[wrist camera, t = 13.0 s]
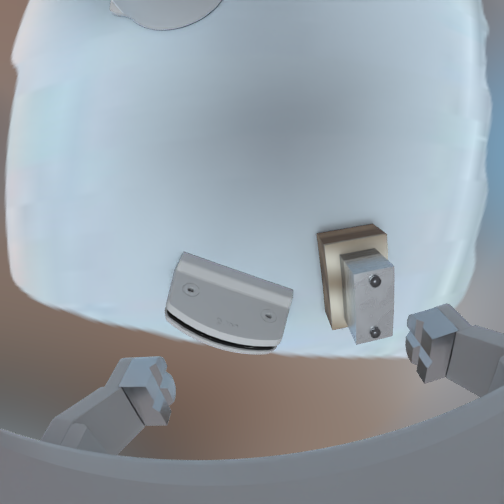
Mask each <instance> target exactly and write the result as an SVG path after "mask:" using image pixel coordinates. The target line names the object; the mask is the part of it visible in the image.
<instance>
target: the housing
mask: <svg viewBox="0 0 504 504" xmlns="http://www.w3.org/2000/svg"><path fill="white" fill-rule="evenodd" d="M339 256H340V267H341V279H342V292H343V308H344V319H345V321H346V323H347V326H348V328H349V330H350V332H351V334H352V336H353V339H354V341H355V343H356V345H357V344H361V343H366V342H370V341H374V340H378V339H382V338H386V337H390V336H392V335H393V315H394V266H393V265H392V264H391V263H390V262H389V261H388V260H387V259H386V258H385V257H384V256H383V255H382V254H381V253H380V252H379V251H377V250H376V249H375V248H372V249H367V250H362V251H356V252H351V253H346V254H340V255H339Z"/></svg>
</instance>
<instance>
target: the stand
mask: <svg viewBox="0 0 504 504" xmlns="http://www.w3.org/2000/svg"><path fill="white" fill-rule="evenodd" d="M317 240H318V248H319V256H320V265H321V274H322V283H323V293H324V303H325V312H326V315H327V317H328V320H329V322H330V325H331V327H332V330H336V329H340V328H345V327H348V326H347V323H346V321H345V319H344V308H343V292H342V279H341V267H340V256H339V255H340V254H346V253H351V252H356V251H362V250H367V249H372V248H375V249H376V250H377V251H379V252H380V253H381V254H382V255H383V256H384V257H385V258H386V259H387V260H388V249H387V234H386V233H385V232H383V231H382V230H381V229H379V228H378V227H376V226H375V225H374V224H369V225H363V226H358V227H352V228H346V229H340V230H334V231H329V232H323V233H317Z"/></svg>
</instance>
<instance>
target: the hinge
mask: <svg viewBox="0 0 504 504" xmlns="http://www.w3.org/2000/svg"><path fill="white" fill-rule="evenodd" d="M292 298H293V290H292V289H289V288H286V287H284V286H281V285H278V284H275V283H272V282H269V281H266V280H263V279H260V278H257V277H254V276H251V275H248V274H246V273H243V272H240V271H237V270H234V269H231V268H228V267H226V266H223V265H220V264H217V263H214V262H211V261H209V260H206V259H203V258H200V257H197V256H194V255H192V254H189V253H186V252H183V254H182V256H181V258H180V261H179V263H178V264H177V266H176V268H175V271H174V275H173V279H172V283H171V286H170V290H169V294H168V298H167V303H166V308H165V316H166V320H167V321H168V322H169V323H170V324H171V325H173V326H174V327H175V328H177V329H178V330H180V331H182V332H183V333H185V334H186V335H188V336H190V337H192V338H194V339H196V340H198V341H200V342H202V343H205V344H207V345H210V346H213V347H215V348H219V349H223V350H227V351H231V352H237V353H243V354H268V353H270V352H272V351H273V350H275V349H276V347H277V345H278V344H279V343H280V342H281V339H282V337H283V333H284V329H285V325H286V321H287V316H288V312H289V308H290V305H291V302H292Z"/></svg>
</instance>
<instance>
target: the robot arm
mask: <svg viewBox="0 0 504 504" xmlns="http://www.w3.org/2000/svg"><path fill="white" fill-rule="evenodd" d="M220 2H221V0H111V3H110V11H111V12H112V13H113V14H114V15H117V16H123V17H128V18H130V19H132V20H133V21H134V22H136V23H137V24H139V25H140V26H143V27H145V28H148V29H154V30H170V29H176V28H180V27H184V26H187V25H189V24H192V23H194V22H196V21H198V20H200V19H202V18H203V17H205V16H206V15H208V14H209V13H210V12H211V11H213V10H214V9H215V8H216V7H217V5H218V4H219V3H220ZM407 327H408V328H409V329H410V332H409V333H408V335H407V336H406V344H405V345H406V352H407V355H408V358H409V360H410V361H411V363H413V364H415V365H417V373H418V374H419V376H420V378H421V379H422V381H423V382H424V383H428V382H432V381H434V380H438V379H441V378H444V377H446V378H448V379H449V380H451V381H453V382H454V383H456V384H458V385H460V386H462V387H463V388H465V389H467V390H469V391H470V392H472V393H474V394H476V395H477V396H479V397H480V398H478V399H476V400H474V401H472V402H469V403H467V404H465V405H463V406H460V407H458V408H456V409H453V410H451V411H449V412H446V413H444V414H441V415H439V416H436V417H433V418H431V419H428V420H425V421H423V422H420V423H417V424H414V425H411V426H408V427H405V428H402V429H399V430H395V431H392V432H389V433H385V434H382V435H379V436H375V437H371V438H367V439H363V440H359V441H355V442H351V443H347V444H342V445H338V446H333V447H328V448H323V449H317V450H311V451H305V452H299V453H292V454H285V455H278V456H268V457H259V458H245V459H228V460H165V459H150V458H138V457H128V456H119V455H117V454H118V453H119V452H120V451H121V450H122V449H123V448H124V447H125V446H126V445H127V444H128V443H129V442H130V441H131V440H132V439H133V438H134V437H135V436H136V435H137V434H138V433H139V432H140V431H141V430H142V429H143V428H144V427H145V426H144V425H167V424H168V421H169V417H170V414H171V410H170V408H169V406H170V405H171V404H172V403H173V402H174V400H175V395H176V387H175V383H174V380H173V378H172V376H171V375H170V374H169V373H167V372H166V368H167V364H166V362H165V360H164V358H162V357H137V358H123V359H120V361H119V362H118V364H117V366H116V368H115V369H114V371H113V373H112V375H111V376H110V378H109V380H108V382H107V384H106V385H105V387H100V388H99V389H97V390H96V391H94V392H93V393H91V394H90V395H88V396H87V397H86V398H84V399H83V400H81V401H79V402H78V403H76V404H75V405H73V406H72V407H70V408H69V409H67V410H66V411H64V412H62V413H61V414H60V415H58V416H56V417H55V418H53V420H52V421H51V423H50V425H49V426H48V428H47V430H46V431H45V433H44V435H43V436H42V438H41V440H36V439H33V438H29V437H26V436H23V435H19V434H16V433H13V432H10V431H7V430H3V429H1V428H0V504H504V333H501V332H497V331H494V330H490V329H487V328H484V327H480V326H477V325H474V326H471V325H470V324H469V323H468V322H467V321H466V320H465V319H464V318H463V317H462V316H461V315H460V314H459V313H458V312H457V311H456V310H455V309H454V308H453V307H452V306H451V305H450V304H447V303H446V304H443V305H440V306H437V307H434V308H432V309H429V310H425V311H422V312H418V313H415V314H411V315H409V317H408V319H407Z"/></svg>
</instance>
